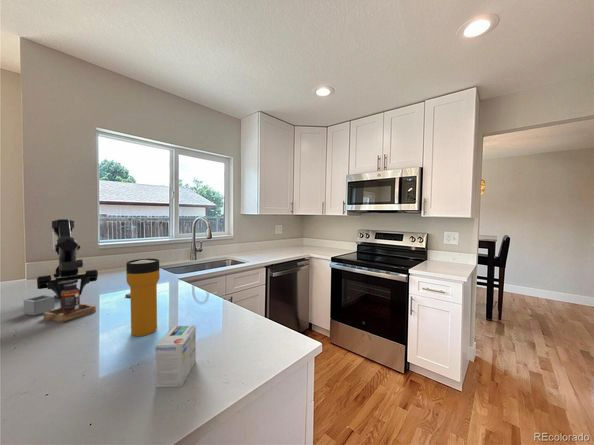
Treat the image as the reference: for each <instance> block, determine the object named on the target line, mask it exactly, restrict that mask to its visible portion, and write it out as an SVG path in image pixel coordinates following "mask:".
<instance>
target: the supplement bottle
mask: <svg viewBox="0 0 594 445" xmlns="http://www.w3.org/2000/svg"><path fill="white" fill-rule="evenodd" d="M77 285H78V284H77V283H71V284H65V285H64V290H62V291H61V293H60V294H61V298H60V299H59V302H60V307H59V308H60V311H61V313H63V314H68V313H73V312H76V311H78V310H79V309H80V303H81V301H80V300H81V299H80V298H81V295H80V288H78V286H77Z"/></svg>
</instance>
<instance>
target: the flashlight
mask: <svg viewBox="0 0 594 445" xmlns="http://www.w3.org/2000/svg"><path fill="white" fill-rule="evenodd" d="M125 267H126V268H125V270H126V283H127V285H128V286H129V288H130V290H129V291H130V292H129V293H130V334H131V336H134V335H135V337H144V335H146V336H149V335H151V334H153V333H154V332H156V331H157V330H156V329H158V304H157V303H158V300H157V296H158V292H157V291H158V289H157V288H158V286H157V284H158V282H159V281H160V259H158V258H140V259H133V260H129V261H126V266H125ZM155 330H156V331H155ZM152 332H153V333H152ZM150 333H151V334H150ZM148 334H149V335H148Z"/></svg>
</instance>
